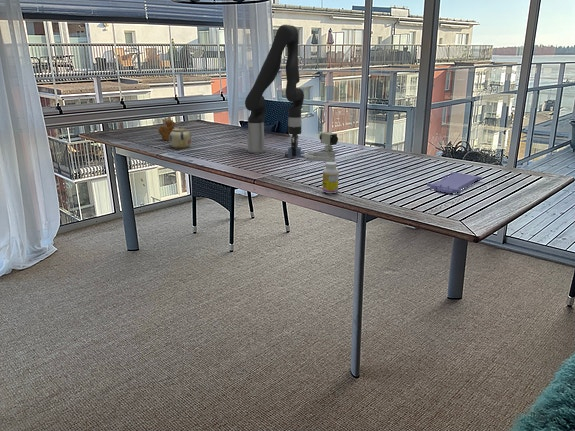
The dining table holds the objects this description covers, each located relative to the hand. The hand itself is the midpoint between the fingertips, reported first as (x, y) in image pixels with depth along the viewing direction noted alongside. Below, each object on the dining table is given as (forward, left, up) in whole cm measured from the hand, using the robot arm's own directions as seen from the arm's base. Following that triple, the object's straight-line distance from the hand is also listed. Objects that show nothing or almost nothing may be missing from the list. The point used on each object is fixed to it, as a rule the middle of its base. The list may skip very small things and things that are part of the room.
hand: (294, 154), depth 266 cm
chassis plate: (+15, -2, -1) cm, 15 cm away
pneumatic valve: (+19, +16, -1) cm, 25 cm away
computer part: (+78, -51, -1) cm, 93 cm away
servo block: (0, 0, -1) cm, 1 cm away
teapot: (-72, +15, -1) cm, 74 cm away
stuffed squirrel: (-89, +38, -1) cm, 96 cm away
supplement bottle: (+23, -69, -1) cm, 73 cm away
